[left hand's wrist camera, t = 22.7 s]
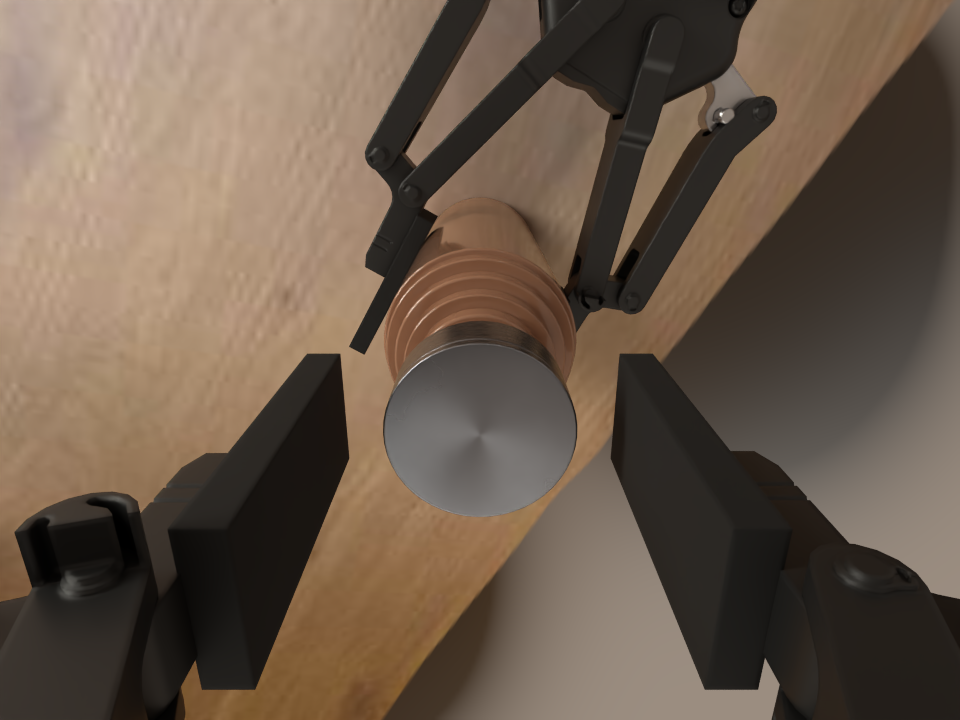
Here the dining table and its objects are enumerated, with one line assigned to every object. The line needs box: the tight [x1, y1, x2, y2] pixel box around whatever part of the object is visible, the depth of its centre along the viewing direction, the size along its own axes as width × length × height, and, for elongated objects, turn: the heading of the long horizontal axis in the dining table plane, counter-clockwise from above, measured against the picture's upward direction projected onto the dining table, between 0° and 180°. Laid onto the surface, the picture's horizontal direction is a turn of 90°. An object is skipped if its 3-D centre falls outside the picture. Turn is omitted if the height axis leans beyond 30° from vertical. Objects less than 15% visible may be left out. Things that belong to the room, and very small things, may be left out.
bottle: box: [384, 198, 576, 383], centre depth 23 cm, size 6×6×21 cm
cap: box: [383, 321, 577, 517], centre depth 14 cm, size 4×4×2 cm
